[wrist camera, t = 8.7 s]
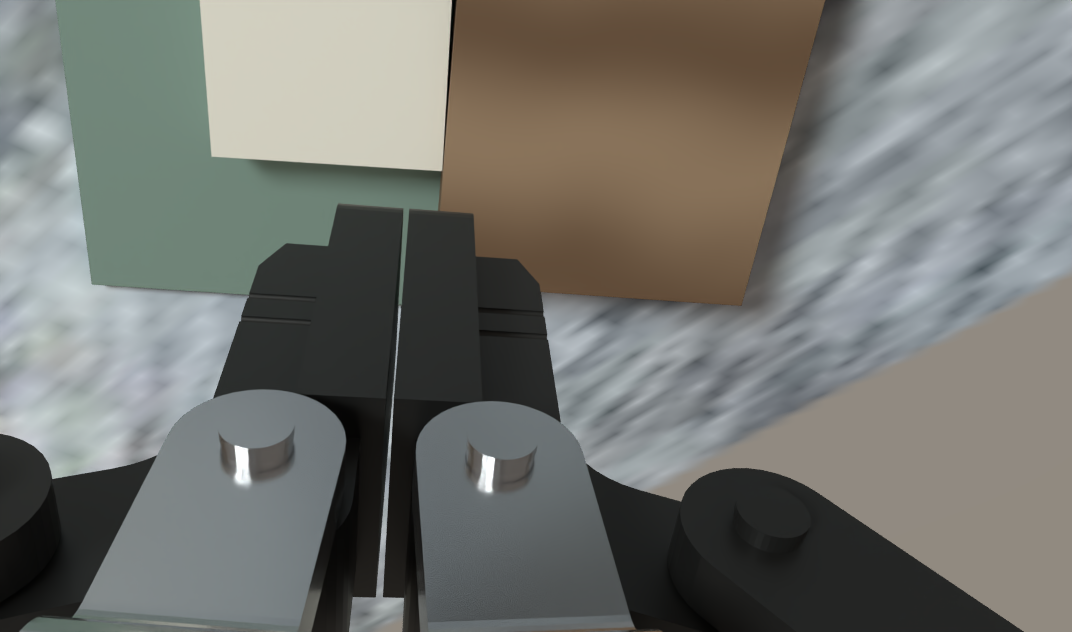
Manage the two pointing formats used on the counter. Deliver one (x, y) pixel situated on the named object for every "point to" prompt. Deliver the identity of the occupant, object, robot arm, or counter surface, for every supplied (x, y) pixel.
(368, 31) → the cream flat block
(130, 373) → the counter surface
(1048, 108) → the counter surface
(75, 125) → the mat
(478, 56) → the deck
